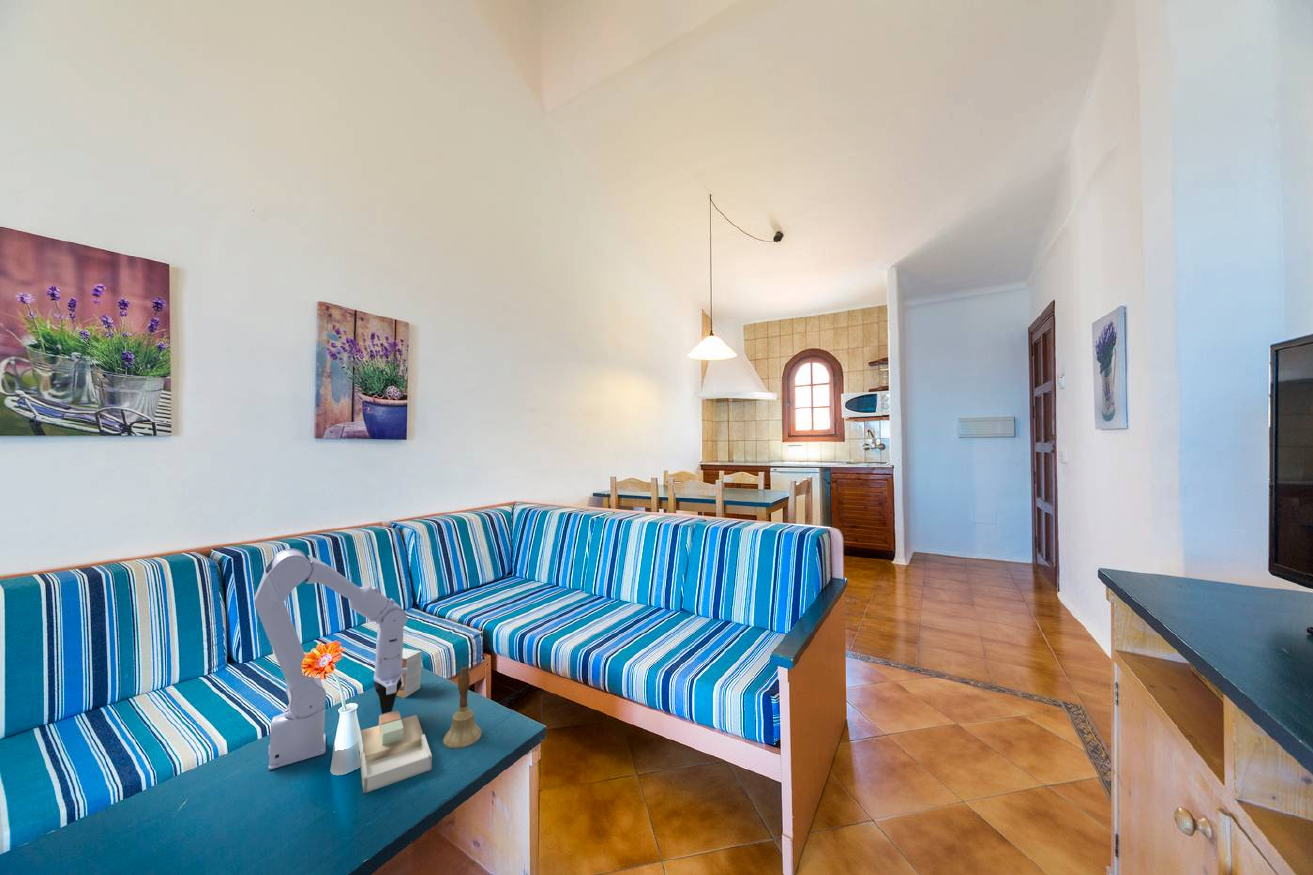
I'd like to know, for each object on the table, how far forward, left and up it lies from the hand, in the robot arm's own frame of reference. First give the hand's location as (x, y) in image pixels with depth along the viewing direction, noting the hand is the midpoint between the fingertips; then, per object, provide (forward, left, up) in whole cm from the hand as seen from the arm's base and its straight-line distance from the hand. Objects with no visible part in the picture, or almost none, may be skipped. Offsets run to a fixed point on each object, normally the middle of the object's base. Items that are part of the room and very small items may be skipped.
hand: (386, 711), depth 111 cm
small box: (+5, +15, -3) cm, 16 cm away
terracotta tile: (0, -6, -1) cm, 7 cm away
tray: (0, -19, -3) cm, 20 cm away
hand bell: (+14, -16, -3) cm, 21 cm away
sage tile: (0, -11, -1) cm, 11 cm away
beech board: (0, -9, -3) cm, 10 cm away
